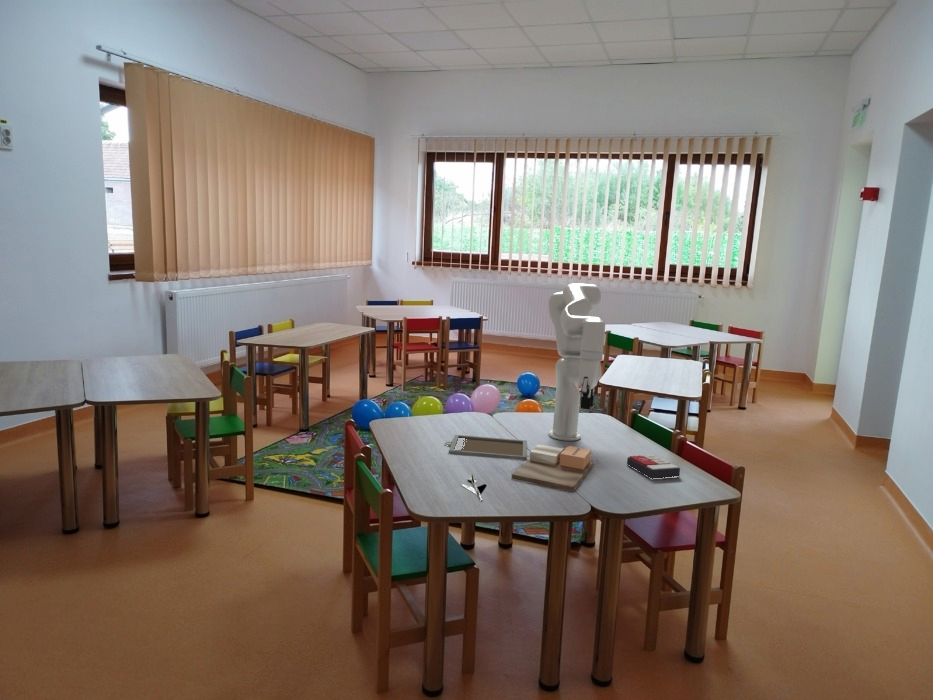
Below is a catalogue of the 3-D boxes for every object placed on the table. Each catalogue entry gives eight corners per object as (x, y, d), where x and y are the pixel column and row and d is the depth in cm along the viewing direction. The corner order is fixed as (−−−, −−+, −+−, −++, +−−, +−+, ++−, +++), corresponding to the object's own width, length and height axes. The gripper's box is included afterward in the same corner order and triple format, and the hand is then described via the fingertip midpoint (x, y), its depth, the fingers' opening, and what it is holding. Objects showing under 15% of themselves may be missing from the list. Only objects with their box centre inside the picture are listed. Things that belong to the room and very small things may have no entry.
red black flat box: (653, 453, 223) (680, 466, 209) (652, 465, 223) (679, 478, 209) (627, 455, 219) (652, 468, 205) (626, 467, 220) (651, 480, 206)
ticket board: (538, 454, 225) (539, 442, 224) (594, 464, 217) (595, 452, 216) (511, 478, 200) (512, 465, 199) (573, 491, 192) (574, 477, 191)
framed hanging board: (526, 457, 218) (441, 449, 221) (526, 461, 218) (441, 454, 221) (527, 440, 237) (448, 433, 240) (526, 444, 237) (447, 437, 240)
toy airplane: (468, 503, 180) (468, 495, 180) (457, 476, 200) (457, 469, 200) (494, 502, 181) (495, 495, 181) (481, 476, 202) (481, 469, 201)
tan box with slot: (567, 456, 219) (568, 445, 218) (590, 461, 215) (591, 449, 215) (559, 465, 210) (560, 453, 209) (583, 469, 206) (584, 457, 206)
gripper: (586, 351, 225) (581, 401, 228) (574, 357, 210) (569, 410, 213) (607, 353, 222) (602, 404, 225) (596, 360, 207) (591, 414, 210)
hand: (586, 406), depth 219 cm, fingers open, 3 cm apart
